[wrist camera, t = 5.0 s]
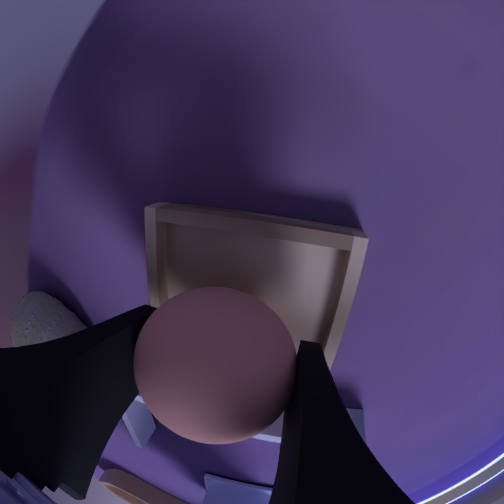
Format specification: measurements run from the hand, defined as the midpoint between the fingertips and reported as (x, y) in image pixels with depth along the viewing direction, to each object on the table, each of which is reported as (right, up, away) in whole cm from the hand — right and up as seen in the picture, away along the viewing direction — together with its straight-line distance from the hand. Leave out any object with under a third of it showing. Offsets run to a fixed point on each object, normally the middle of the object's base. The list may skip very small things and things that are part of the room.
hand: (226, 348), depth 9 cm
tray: (+1, +1, +3) cm, 3 cm away
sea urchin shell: (-13, -3, +8) cm, 15 cm away
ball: (0, +1, +1) cm, 2 cm away
